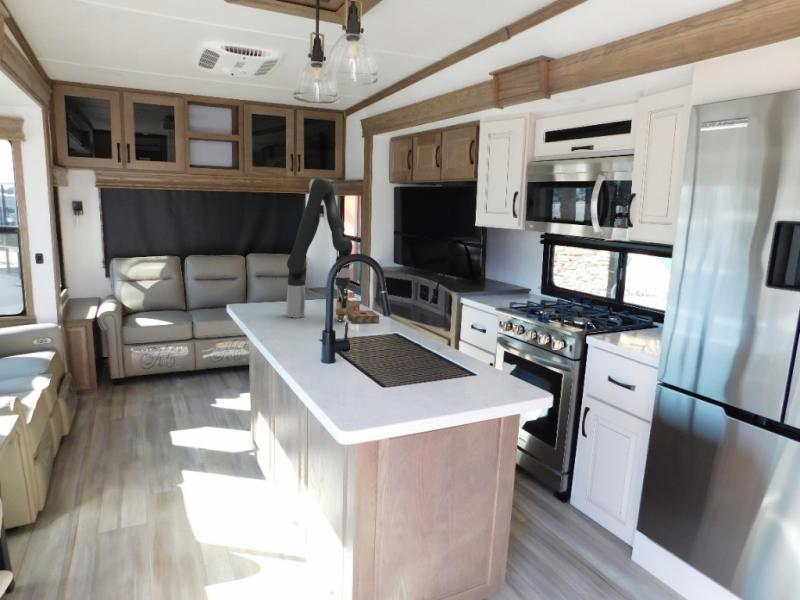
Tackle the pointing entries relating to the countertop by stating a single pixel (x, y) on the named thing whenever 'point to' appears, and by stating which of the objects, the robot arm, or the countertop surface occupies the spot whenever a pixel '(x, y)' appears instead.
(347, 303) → the stack of blocks
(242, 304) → the countertop surface
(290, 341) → the countertop surface
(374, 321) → the walnut board
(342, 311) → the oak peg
